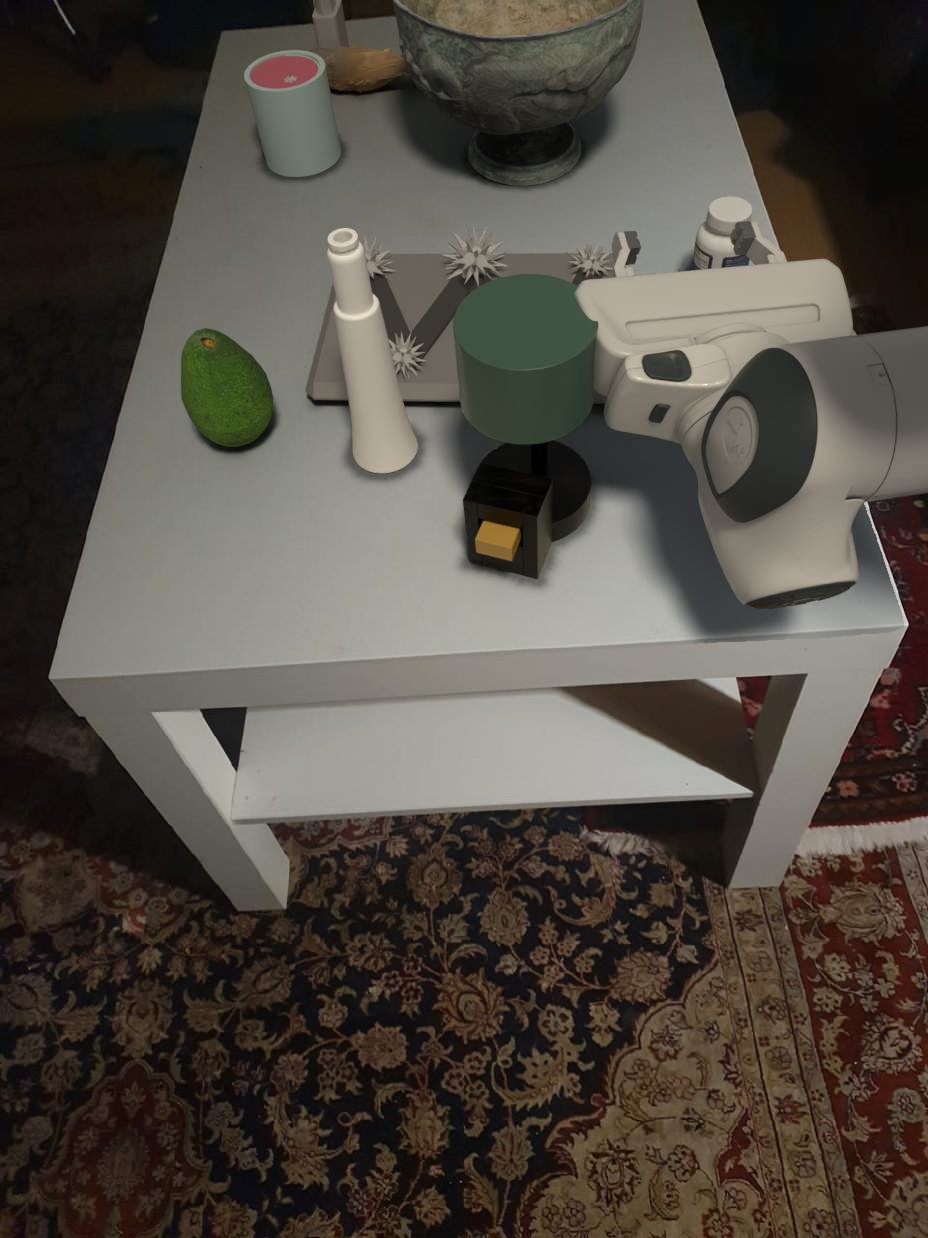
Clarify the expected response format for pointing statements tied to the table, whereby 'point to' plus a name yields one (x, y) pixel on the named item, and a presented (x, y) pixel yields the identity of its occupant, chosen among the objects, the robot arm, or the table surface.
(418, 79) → the decorative bowl
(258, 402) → the fruit
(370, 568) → the table surface
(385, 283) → the decorative plate
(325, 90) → the mug
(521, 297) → the desk lamp
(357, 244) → the cosmetic bottle
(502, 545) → the lamp switch
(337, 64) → the bird model
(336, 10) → the power adapter
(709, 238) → the pill bottle
